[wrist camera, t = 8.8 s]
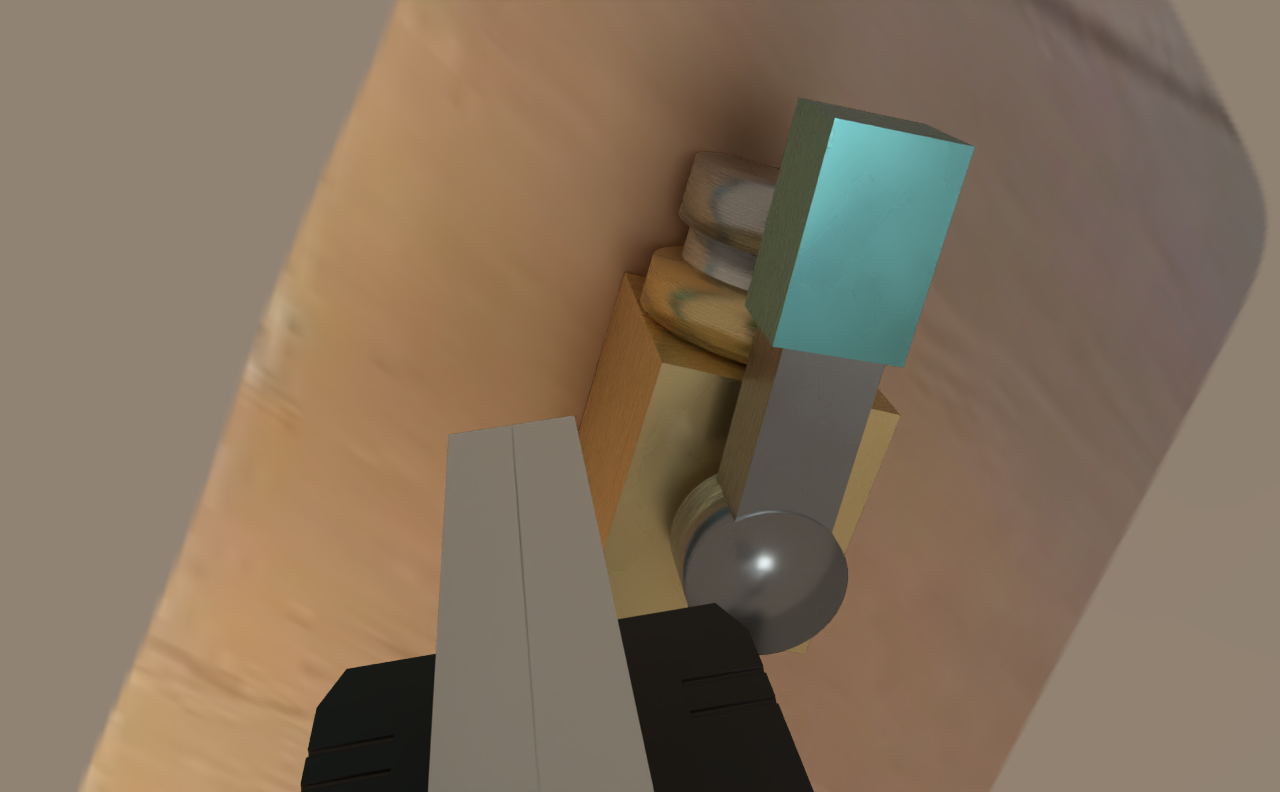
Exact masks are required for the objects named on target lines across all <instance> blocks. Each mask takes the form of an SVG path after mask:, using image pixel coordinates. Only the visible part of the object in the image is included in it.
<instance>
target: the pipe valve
mask: <svg viewBox="0 0 1280 792" xmlns="http://www.w3.org/2000/svg"><path fill="white" fill-rule="evenodd" d="M779 171H780V169H779V168H775V167H771V166H768V165H764V164H760V163H757V162H753V161H749V160H745V159H742V158H738V157H734V156H731V155H727V154H723V153H716V152H698V153H697V154H696V156H695V160H694V163H693V166H692V170H691V173H690V176H689V180H688V183H687V186H686V190H685V193H684V196H683V200H682V203H681V206H680V210H679V214H678V215H679V217H680V218H681V219H682V220H683V221H684V222H685V223H686V224H687V225H689V226H690V228H689V231H688V235H687V238H686V241H685V245H684V246H671V247H664V248H660V249H658V250H656V251H655V252H654V253H653V256H652V259H651V263H650V266H649V269H648V273H647V276H646V277H644V276H640V275H636V274H631V273H627V272H625V273H624V276H623V280H622V283H621V287H620V290H619V294H618V297H617V301H616V304H615V308H614V311H613V314H612V318H611V321H610V325H609V328H608V332H607V335H606V339H605V342H604V346H603V349H602V353H601V356H600V360H599V363H598V367H597V370H596V373H595V377H594V380H593V384H592V387H591V391H590V394H589V398H588V401H587V405H586V408H585V412H584V415H583V419H582V422H581V426H580V429H579V432H578V435H579V440H580V445H581V449H582V454H583V459H584V464H585V468H586V473H587V478H588V483H589V487H590V492H591V497H592V501H593V506H594V511H595V516H596V520H597V525H598V530H599V534H600V539H601V544H602V549H603V553H604V558H605V563H606V567H607V572H608V577H609V582H610V586H611V591H612V596H613V601H614V605H615V610H616V615H617V619H622V618H628V617H634V616H640V615H646V614H651V613H657V612H663V611H669V610H675V609H681V608H687V607H688V605H687V601H686V598H685V595H684V592H683V588H682V585H681V582H680V578H679V575H678V572H677V569H676V565H675V562H674V559H673V555H672V552H671V545H670V533H671V527H672V523H673V520H674V517H675V514H676V512H677V510H678V508H679V507H680V505H681V504H682V502H683V501H684V499H685V498H686V497H687V496H688V494H689V493H690V492H691V491H692V490H693V489H694V488H696V487H697V486H698V485H699V484H701V483H702V482H703V481H705V480H706V479H708V478H710V477H712V476H713V475H715V474H718V471H719V467H720V463H721V460H722V456H723V452H724V448H725V445H726V441H727V437H728V433H729V430H730V426H731V422H732V418H733V415H734V411H735V407H736V403H737V399H738V396H739V392H740V388H741V384H742V381H743V377H744V373H745V369H746V366H747V362H748V358H749V354H750V351H751V347H752V343H753V339H754V336H755V332H756V328H757V323H756V322H755V320H754V319H753V318H752V316H751V315H750V313H749V312H748V310H747V309H746V307H745V306H744V305H745V302H746V298H747V294H748V290H749V286H750V282H751V278H752V275H753V271H754V267H755V263H756V259H757V255H758V252H759V248H760V244H761V240H762V236H763V232H764V228H765V225H766V221H767V217H768V213H769V209H770V205H771V201H772V198H773V194H774V190H775V186H776V182H777V178H778V175H779ZM900 416H901V415H900V414H899V413H898V412H897V410H896V409H895V408H894V407H893V406H892V405H891V403H890V402H889V401H888V400H887V399H886V397H885V396H884V395H883V394H882V393H881V392H880V390H879V389H877V392H876V395H875V398H874V402H873V405H872V408H871V411H870V414H869V417H868V421H867V424H866V427H865V430H864V433H863V436H862V439H861V443H860V446H859V449H858V452H857V455H856V458H855V462H854V465H853V468H852V471H851V474H850V477H849V481H848V484H847V487H846V490H845V493H844V496H843V500H842V503H841V506H840V509H839V512H838V515H837V519H836V522H835V525H834V528H833V531H832V533H833V535H834V537H835V539H836V540H837V542H838V544H839V546H840V547H841V549H842V551H843V553H844V555H845V552H846V550H847V548H848V545H849V543H850V540H851V538H852V535H853V533H854V530H855V528H856V525H857V523H858V520H859V518H860V515H861V513H862V510H863V508H864V505H865V503H866V500H867V498H868V495H869V493H870V490H871V488H872V485H873V483H874V480H875V478H876V475H877V473H878V470H879V468H880V465H881V463H882V460H883V458H884V455H885V453H886V450H887V448H888V445H889V443H890V441H891V438H892V436H893V433H894V431H895V428H896V426H897V423H898V421H899V418H900ZM810 640H811V639H809V640H808V641H806V642H804V643H802V644H800V645H798V646H796V647H794V648H791V649H789V650H785V651H789V652H795V653H801V654H805V652H806V650H807V647H808V645H809V642H810Z"/></svg>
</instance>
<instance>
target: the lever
mask: <svg viewBox="0 0 1280 792" xmlns="http://www.w3.org/2000/svg"><path fill="white" fill-rule="evenodd" d="M973 150H974V146H972V145H970V144H967V143H965V142H963V141H961V140H959V139H956V138H954V137H952V136H950V135H948V134H946V133H943V132H941V131H939V130H937V129H935V128H933V127H930V126H928V125H926V124H923V123H918V122H913V121H908V120H903V119H899V118H894V117H889V116H884V115H880V114H875V113H870V112H865V111H860V110H856V109H851V108H846V107H841V106H837V105H832V104H827V103H822V102H817V101H813V100H808V99H803V98H798V101H797V105H796V109H795V113H794V117H793V121H792V125H791V128H790V132H789V136H788V140H787V144H786V148H785V151H784V155H783V159H782V163H781V167H780V171H779V175H778V178H777V182H776V186H775V190H774V194H773V198H772V201H771V205H770V209H769V213H768V217H767V221H766V225H765V228H764V232H763V236H762V240H761V244H760V248H759V252H758V255H757V259H756V263H755V267H754V271H753V275H752V278H751V282H750V286H749V290H748V294H747V298H746V302H745V305H744V306H745V307H746V309H747V310H748V312H749V313H750V315H751V316H752V318H753V319H754V320H755V322H756V323H757V328H756V332H755V336H754V339H753V343H752V347H751V351H750V354H749V358H748V362H747V366H746V369H745V373H744V377H743V381H742V384H741V388H740V392H739V396H738V399H737V403H736V407H735V411H734V415H733V418H732V422H731V426H730V430H729V433H728V437H727V441H726V445H725V448H724V452H723V456H722V460H721V463H720V467H719V471H718V474H715V475H713V476H712V477H710V478H708V479H706V480H705V481H703V482H702V483H701V484H699V485H698V486H697V487H696V488H694V489H693V490H692V491H691V492H690V493H689V494H688V496H687V497H686V498H685V499H684V501H683V502H682V504H681V505H680V507H679V508H678V510H677V512H676V514H675V517H674V520H673V523H672V527H671V533H670V545H671V552H672V555H673V559H674V562H675V565H676V569H677V572H678V575H679V578H680V582H681V585H682V588H683V592H684V595H685V598H686V601H687V605H688V607H693V606H699V605H705V604H710V603H716V604H717V605H719V606H720V607H721V608H722V609H724V610H725V611H726V612H727V613H729V614H730V615H731V616H732V617H733V618H735V619H736V620H737V621H738V622H740V623H741V624H742V625H743V626H745V627H746V628H747V629H748V630H749V632H750V635H751V637H752V639H753V642H754V644H755V647H756V649H757V652H758V654H759V655H766V654H773V653H779V652H782V651H785V650H789V649H791V648H794V647H796V646H798V645H800V644H802V643H804V642H806V641H808V640H809V639H811V638H812V637H813V636H815V635H816V634H817V633H819V632H820V631H821V630H822V629H823V628H824V627H825V626H826V625H827V624H828V623H829V622H830V621H831V620H832V618H833V617H834V615H835V614H836V613H837V611H838V609H839V607H840V606H841V604H842V601H843V599H844V596H845V593H846V589H847V582H848V568H847V563H846V559H845V556H844V553H843V551H842V549H841V547H840V546H839V544H838V542H837V540H836V539H835V537H834V535H833V533H832V531H833V528H834V525H835V522H836V519H837V515H838V512H839V509H840V506H841V503H842V500H843V496H844V493H845V490H846V487H847V484H848V481H849V477H850V474H851V471H852V468H853V465H854V462H855V458H856V455H857V452H858V449H859V446H860V443H861V439H862V436H863V433H864V430H865V427H866V424H867V421H868V417H869V414H870V411H871V408H872V405H873V402H874V398H875V395H876V392H877V389H878V386H879V383H880V379H881V376H882V373H883V370H884V367H885V365H892V366H898V367H903V366H904V363H905V360H906V357H907V354H908V351H909V348H910V345H911V342H912V339H913V335H914V332H915V329H916V326H917V323H918V320H919V317H920V314H921V311H922V308H923V305H924V301H925V298H926V295H927V292H928V289H929V286H930V283H931V280H932V277H933V274H934V271H935V267H936V264H937V261H938V258H939V255H940V252H941V249H942V246H943V243H944V240H945V236H946V233H947V230H948V227H949V224H950V221H951V218H952V215H953V212H954V209H955V206H956V202H957V199H958V196H959V193H960V190H961V187H962V184H963V181H964V178H965V175H966V172H967V168H968V165H969V162H970V159H971V156H972V153H973Z"/></svg>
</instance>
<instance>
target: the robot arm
mask: <svg viewBox="0 0 1280 792" xmlns="http://www.w3.org/2000/svg"><path fill="white" fill-rule="evenodd" d="M308 753H309V757H307V758H306V761H305V766H304V770H303V775H302V780H301V792H814V791H813V789H812V786H811V784H810V781H809V779H808V776H807V774H806V771H805V769H804V766H803V764H802V761H801V759H800V756H799V754H798V751H797V749H796V746H795V744H794V741H793V739H792V736H791V734H790V731H789V729H788V726H787V724H786V722H785V719H784V717H783V714H782V712H781V709H780V707H779V704H778V703H776V699H775V694H774V692H773V689H772V687H771V684H770V682H769V679H768V677H767V674H766V673H764V669H763V664H762V662H761V659H760V657H759V654H758V652H757V649H756V647H755V644H754V642H753V639H752V637H751V635H750V632H749V630H748V629H747V628H746V627H745V626H743V625H742V624H741V623H740V622H738V621H737V620H736V619H735V618H733V617H732V616H731V615H730V614H729V613H727V612H726V611H725V610H724V609H722V608H721V607H720V606H719V605H717V604H716V603H710V604H705V605H699V606H693V607H687V608H681V609H675V610H669V611H663V612H657V613H651V614H646V615H640V616H634V617H628V618H622V619H617V615H616V610H615V605H614V601H613V596H612V591H611V586H610V582H609V577H608V572H607V567H606V563H605V558H604V553H603V549H602V544H601V539H600V534H599V530H598V525H597V520H596V516H595V511H594V506H593V501H592V497H591V492H590V487H589V483H588V478H587V473H586V468H585V464H584V459H583V454H582V449H581V445H580V440H579V435H578V431H577V426H576V421H575V416H567V417H560V418H554V419H547V420H541V421H534V422H528V423H521V424H515V425H508V426H502V427H495V428H488V429H482V430H475V431H469V432H462V433H456V434H449V436H448V453H447V471H446V488H445V506H444V523H443V540H442V558H441V575H440V592H439V610H438V627H437V644H436V654H432V655H426V656H420V657H414V658H408V659H403V660H397V661H391V662H385V663H379V664H373V665H367V666H361V667H356V668H350V669H346V670H345V672H344V673H343V674H342V676H341V677H340V678H339V680H338V681H337V682H336V683H335V685H334V686H333V687H332V689H331V690H330V691H329V693H328V694H327V695H326V696H325V698H324V699H323V700H322V702H321V703H320V704H319V706H318V707H317V709H316V714H315V718H314V723H313V728H312V732H311V737H310V742H309V747H308Z"/></svg>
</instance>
